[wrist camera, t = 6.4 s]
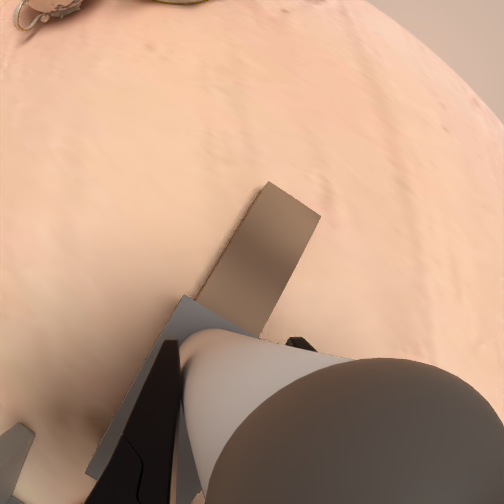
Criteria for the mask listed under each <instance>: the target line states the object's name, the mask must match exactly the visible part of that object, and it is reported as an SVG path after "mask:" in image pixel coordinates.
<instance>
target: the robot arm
mask: <svg viewBox="0 0 504 504" xmlns="http://www.w3.org/2000/svg"><path fill="white" fill-rule="evenodd" d="M286 346H290V347H295V348H299V349H304V350H308V351H313V352H317V351H316V350H315V349H314V348H313V347H312V346H311V345H310V344H309V343H308V342H307V341H306V340H305V339H304V338H302V337H290V338H289V339H288V340H287V343H286ZM317 353H318V352H317ZM180 398H181V366H180V351H179V340H178V339H164V340H163V342H162V344H161V346H160V349H159V351H158V353H157V355H156V357H155V359H154V361H153V364H152V366H151V368H150V370H149V372H148V375H147V377H146V379H145V381H144V383H143V386H142V388H141V390H140V392H139V394H138V397H137V399H136V401H135V403H134V406H133V408H132V410H131V412H130V415H129V417H128V419H127V422H126V424H125V426H124V428H123V431H122V435H120V437H119V440H118V442H117V444H116V447H115V449H114V451H113V453H112V455H111V457H110V459H109V462H108V463H107V465H106V467H105V469H104V471H103V472H102V474H101V476H100V478H99V479H98V481H97V483H96V484H95V486H94V488H93V489H92V491H91V493H90V494H89V496H88V497H87V499H86V501H85V502H84V504H176V482H177V459H178V441H179V425H180Z"/></svg>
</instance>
